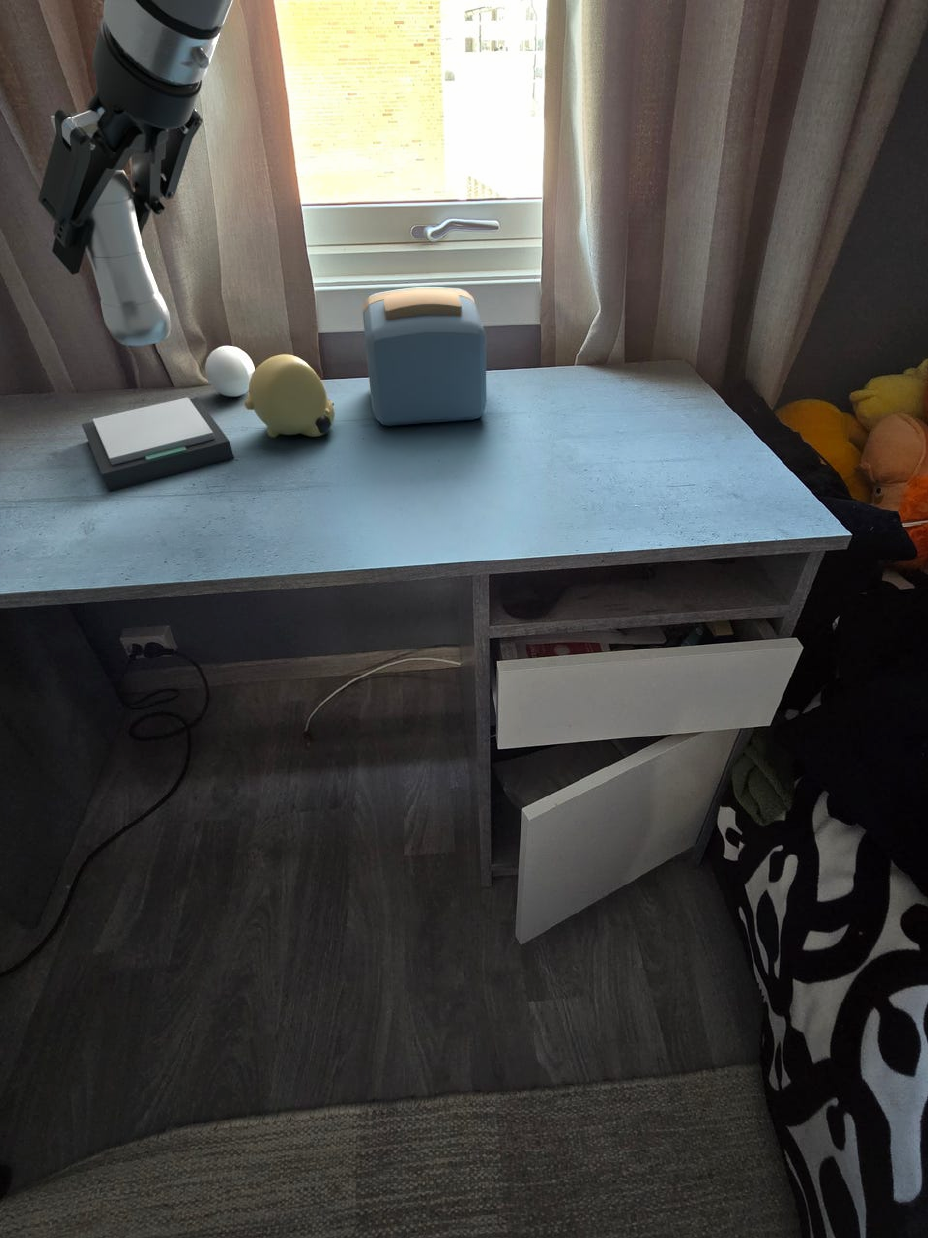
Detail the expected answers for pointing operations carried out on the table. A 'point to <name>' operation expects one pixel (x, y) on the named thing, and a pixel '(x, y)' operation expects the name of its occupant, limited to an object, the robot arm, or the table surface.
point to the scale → (155, 442)
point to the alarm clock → (425, 355)
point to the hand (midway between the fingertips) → (94, 253)
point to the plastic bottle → (124, 268)
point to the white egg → (229, 370)
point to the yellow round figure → (290, 397)
